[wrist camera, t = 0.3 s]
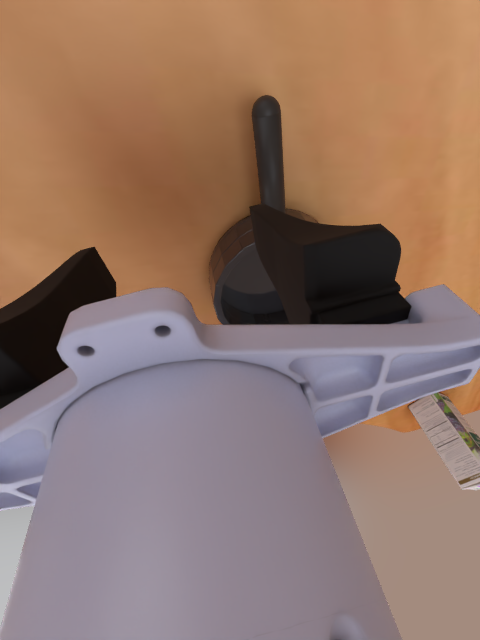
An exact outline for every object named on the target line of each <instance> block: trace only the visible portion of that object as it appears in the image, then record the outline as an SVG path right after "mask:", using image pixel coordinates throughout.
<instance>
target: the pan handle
mask: <svg viewBox="0 0 480 640" xmlns="http://www.w3.org/2000/svg"><path fill="white" fill-rule="evenodd" d="M252 121H253V131H254V140H255V149H256V159H257V168H258V177H259V187H260V196H261V204H266V205H268V206H270V207H272V208H274V209H276V210H278V211H281V212H283V213H285V214H286V212H285V191H284V170H283V149H282V128H281V110H280V105H279V103H278V101H277V100H276V99H275V98H274V97H272V96H269V95H264V96H262V97H260V98H259V99H257V101H256V102H255V103H254V105H253V109H252Z"/></svg>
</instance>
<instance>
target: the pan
mask: <svg viewBox="0 0 480 640" xmlns="http://www.w3.org/2000/svg"><path fill="white" fill-rule="evenodd" d="M285 212H286V214H288V215H290V216H293V217H296V218H299V219H302V220H305V221H309V222H314V223H318V222H317V221H316V220H315V219H314V218H312V217H310V216H309V215H307V214H305V213H303V212H300V211H296V210H292V209H285ZM209 283H210V289H211V294H212V299H213V304H214V308H215V311H216V315H217V318H218V320H219V321H220V322H221V323H222V324H223V325H290V323H289V321H288V318H287V315H286V313H285V310H284V307H283V305H282V302H281V299H280V297H279V295H278V293H277V291H276V289H275V287H274V285H273V284H272V282H271V280H270V278H269V276H268V274H267V272H266V270H265V268H264V267H263V265H262V263H261V260H260V257H259V255H258V252H257V249H256V245H255V239H254V232H253V226H252V220H251V215H250V216H248V217H246V218H244V219H242V220H241V221H239V222H238V223H236V224H235V225H234V226H232V227H231V228H230V229H229V230H228V231H227V232H226V233H225V234H224V235H223V237H222V238H221V239H220V240H219V242H218V244H217V245H216V247H215V249H214V251H213V254H212V256H211V260H210V264H209Z"/></svg>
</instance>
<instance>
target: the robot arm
mask: <svg viewBox="0 0 480 640" xmlns="http://www.w3.org/2000/svg"><path fill="white" fill-rule="evenodd" d="M250 213H251V220H252V226H253V232H254V239H255V245H256V249H257V252H258V255H259V257H260V260H261V263H262V265H263V267H264V268H265V270H266V272H267V274H268V276H269V278H270V280H271V282H272V284H273V285H274V287H275V289H276V291H277V293H278V295H279V297H280V299H281V302H282V305H283V307H284V310H285V313H286V315H287V318H288V321H289V323H290V325H206V324H203V323H201V322H200V321H199V320H198V319H197V317H196V315H195V313H194V310H193V308H192V305H191V303H190V302H189V301H188V300H187V298H186V297H185V296H184V295H183V294H182V293H180V292H178V291H175V290H173V289H170V288H150V289H146V290H142V291H138V292H134V293H130V294H126V295H122V296H119V297H116V282H115V280H114V279H113V277H112V275H111V274H110V272H109V270H108V269H107V267H106V265H105V264H104V262H103V260H102V259H101V257H100V255H99V254H98V252H97V250H96V249H95V247H91V248H87V249H84V250H80V251H79V252H77V253H76V254H74V255H73V256H72V257H70V258H69V259H68V260H67V261H66V262H64V263H63V264H62V265H61V266H60V267H59V268H58V269H56V270H55V271H54V272H53V273H52V274H50V275H49V276H48V277H47V278H45V279H44V280H43V281H42V282H41V283H39V284H38V285H37V286H36V287H34V288H33V289H31V290H30V291H29V292H27V293H26V294H24V295H23V296H21V297H20V298H18V299H17V300H15V301H13V302H12V303H10V304H8V305H6V306H5V307H3V308H1V309H0V511H1V510H8V509H14V508H21V507H29V506H34V510H33V513H32V517H31V520H30V524H29V528H28V531H27V535H26V538H25V542H24V545H23V549H22V552H21V556H20V559H19V563H18V567H17V570H16V573H15V577H14V581H13V584H12V588H11V591H10V595H9V598H8V602H7V605H6V609H5V612H4V616H3V620H2V623H1V627H0V640H402V638H401V636H400V633H399V630H398V628H397V625H396V623H395V620H394V618H393V615H392V613H391V610H390V608H389V605H388V602H387V601H386V598H385V595H384V593H383V590H382V587H381V585H380V582H379V580H378V578H377V575H376V572H375V570H374V567H373V565H372V562H371V560H370V557H369V555H368V552H367V550H366V547H365V544H364V542H363V539H362V537H361V534H360V532H359V529H358V527H357V524H356V522H355V519H354V517H353V514H352V512H351V509H350V507H349V504H348V502H347V499H346V497H345V494H344V492H343V489H342V487H341V484H340V482H339V479H338V476H337V474H336V472H335V469H334V466H333V464H332V461H331V459H330V456H329V454H328V451H327V449H326V446H325V444H324V441H323V439H322V438H325V437H327V436H329V435H332V434H334V433H337V432H339V431H341V430H344V429H346V428H348V427H351V426H353V425H356V424H358V423H361V422H363V421H365V420H368V419H370V418H373V417H375V416H377V415H380V414H382V413H385V412H387V411H389V410H392V409H394V408H397V407H399V406H402V405H404V404H407V403H409V402H412V401H415V400H417V399H420V398H423V397H426V396H429V395H432V394H435V393H437V392H440V391H444V390H447V389H451V388H454V387H458V386H461V385H465V384H468V383H469V382H470V381H471V380H472V378H473V377H474V375H475V374H476V372H477V371H478V369H479V368H480V315H479V314H478V313H477V312H475V311H474V310H473V309H472V308H471V307H470V306H468V305H467V304H466V303H465V302H464V301H463V300H462V299H460V298H459V297H458V296H457V295H456V294H455V293H453V292H452V291H451V290H450V289H449V288H448V287H447V286H445V285H444V284H443V285H438V286H434V287H430V288H427V289H423V290H419V291H415V292H413V293H411V294H409V295H408V296H407V297H406V298H405V299H404V298H403V296H402V295H401V294H400V293H399V291H400V289H401V288H400V285H399V284H398V283H397V282H396V281H395V277H396V273H397V269H398V265H399V261H400V256H401V247H400V243H399V241H398V239H397V238H396V237H395V236H394V235H393V234H392V233H391V232H390V231H388V230H387V229H386V228H385V227H384V226H382V225H381V224H373V225H362V226H336V225H326V224H319V223H314V222H309V221H305V220H302V219H299V218H296V217H293V216H290V215H288V214H285V213H283V212H281V211H278V210H276V209H274V208H272V207H270V206H268V205H266V204H259V205H255V206H251V207H250Z"/></svg>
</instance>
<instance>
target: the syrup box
mask: <svg viewBox="0 0 480 640" xmlns="http://www.w3.org/2000/svg"><path fill="white" fill-rule="evenodd" d="M408 408H409V409H410V411H411V412H412V414H413V415H414V417H415V418H416V420H417V422H418V423H419V425H420V426H421V428H422V429H423V431H424V432H425V434H426V435H427V437H428V439H429V440H430V442H431V443H432V445H433V446H434V448H435V449H436V451H437V452H438V454H439V456H440V457H441V459H442V460H443V461H444V463H445V465H446V466H447V468H448V470H449V471H450V473H451V474H452V475H453V477H454V479H455V480H456V482H457V483H458V485H459V486H460V488H461V489H473V490H478V489H480V438H479V437H478V436H477V434H476V433H475V431H474V430H473V429H472V428H471V426H470V425H469V424H468V422H467V421H466V420H465V418H464V417H463V416H462V415H461V413H460V412H459V411H458V409H457V408H456V407H455V406H454V404H453V403H452V402H451V401H450V399H449V398H448V397H447V396H445V395H443V394H441V393H438V392H437V393H435V394H432V395H429V396H426V397H423V398H421V399H419V400H418V401H416V402H415V403H413V404H411V405H410V406H408Z"/></svg>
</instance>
